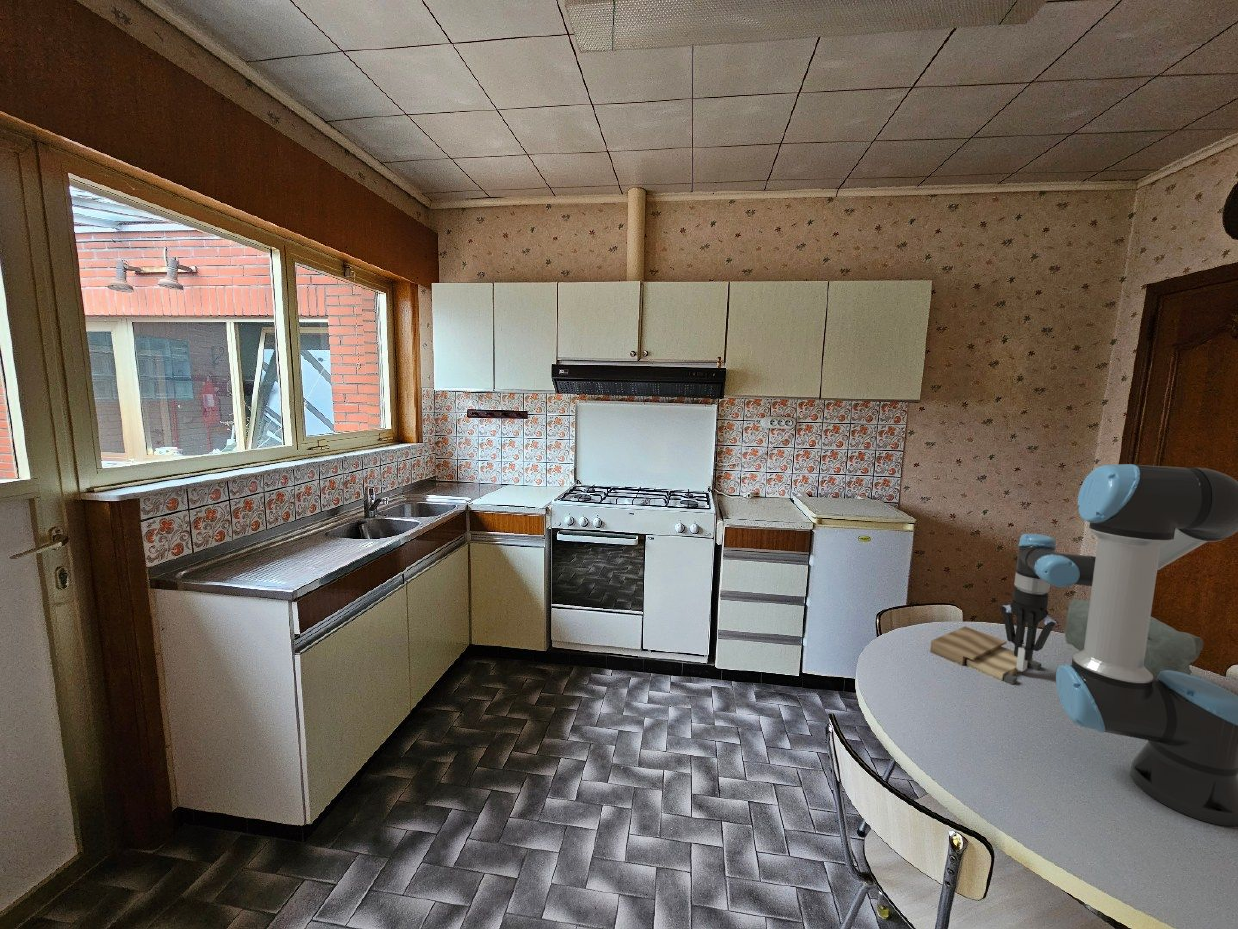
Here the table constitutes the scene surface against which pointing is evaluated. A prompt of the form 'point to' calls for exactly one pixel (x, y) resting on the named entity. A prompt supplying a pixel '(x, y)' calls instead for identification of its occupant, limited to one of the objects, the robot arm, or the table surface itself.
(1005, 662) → the plank
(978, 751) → the table surface
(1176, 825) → the table surface
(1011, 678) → the spacers
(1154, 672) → the rock
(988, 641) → the board
